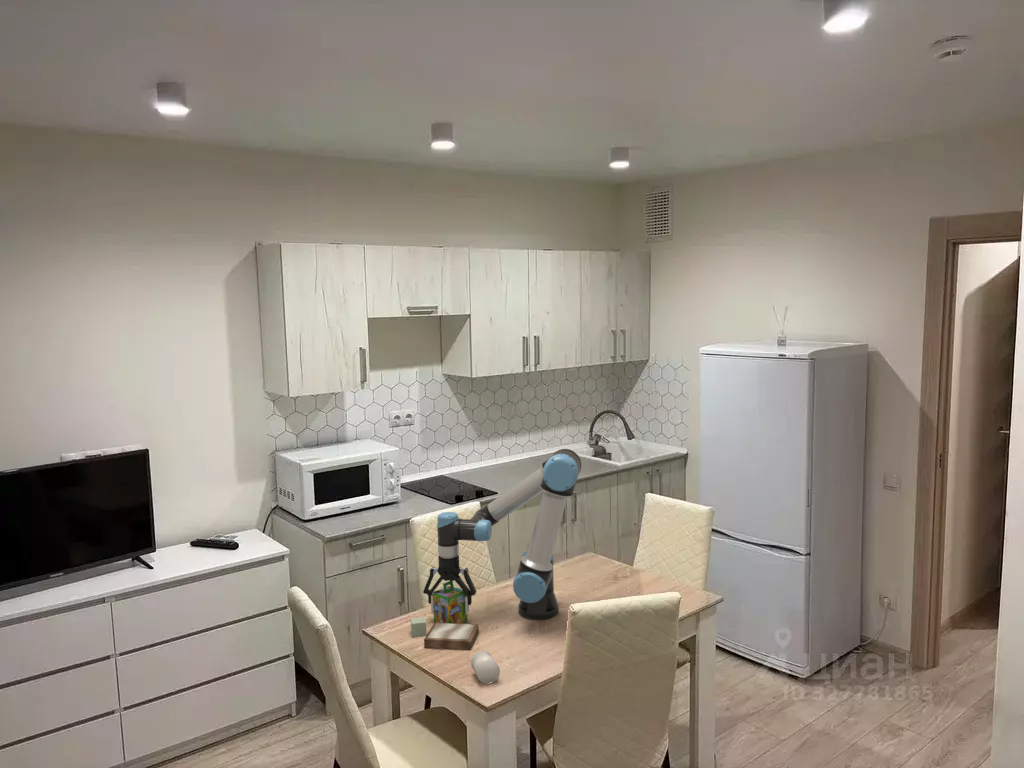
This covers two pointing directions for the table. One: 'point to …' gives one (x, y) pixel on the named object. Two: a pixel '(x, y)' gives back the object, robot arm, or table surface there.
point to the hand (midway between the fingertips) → (450, 612)
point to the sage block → (418, 627)
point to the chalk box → (449, 605)
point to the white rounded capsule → (485, 667)
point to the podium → (451, 636)
